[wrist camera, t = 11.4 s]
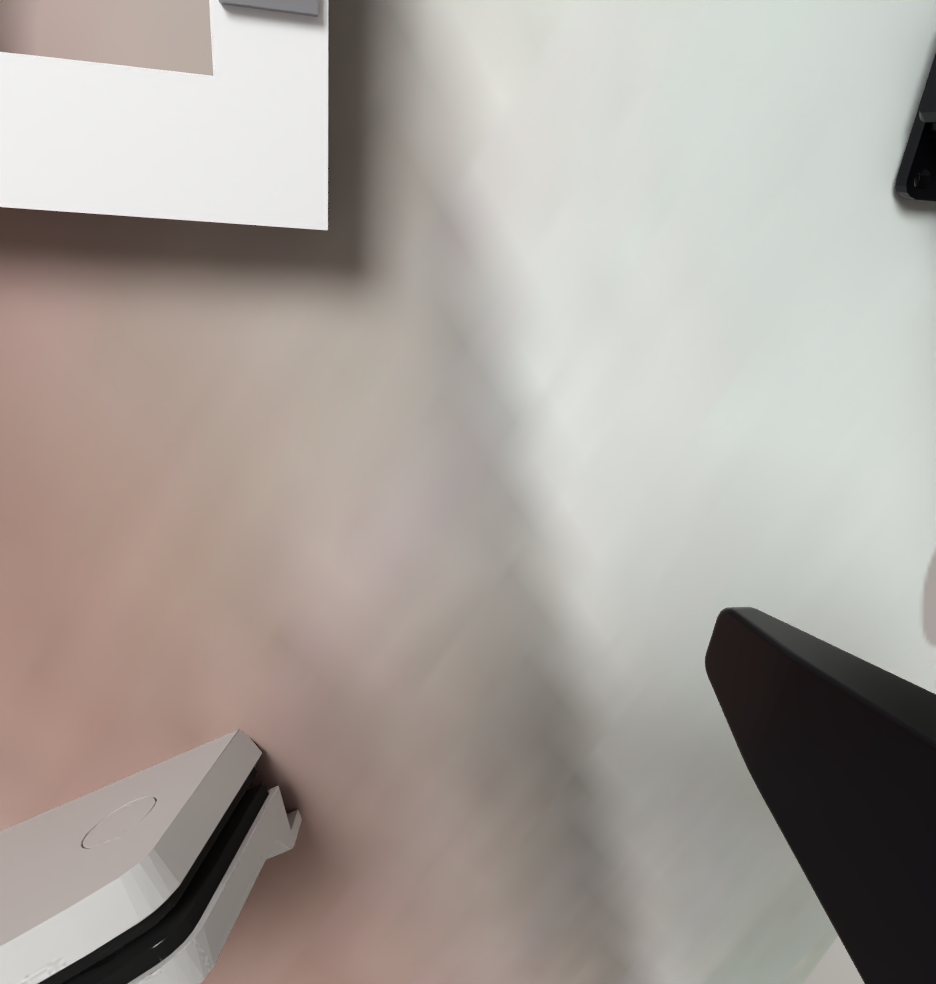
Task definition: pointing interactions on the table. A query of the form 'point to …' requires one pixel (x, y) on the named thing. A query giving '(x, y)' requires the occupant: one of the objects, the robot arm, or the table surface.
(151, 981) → the white curved block
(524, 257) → the table surface
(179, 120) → the socket plate
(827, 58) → the table surface
